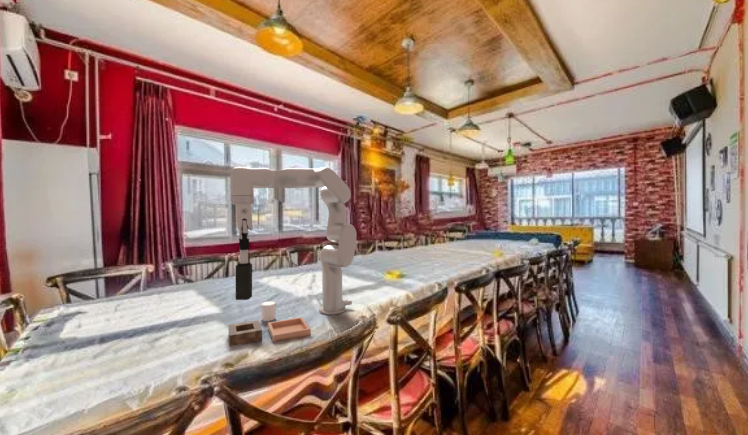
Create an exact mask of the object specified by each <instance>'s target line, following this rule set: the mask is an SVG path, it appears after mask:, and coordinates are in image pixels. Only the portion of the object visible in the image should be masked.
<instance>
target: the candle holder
mask: <svg viewBox="0 0 748 435" xmlns="http://www.w3.org/2000/svg"><path fill="white" fill-rule="evenodd" d="M261 341H262V342H263V329H262V326H261V324H260V320H259V319H258V320H252V321H246V322H239V323H238V322H237V323H233V324H228V342H229V347H235V345H236V346H240V345H247V344H251V343H257V342H261Z"/></svg>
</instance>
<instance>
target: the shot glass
mask: <svg viewBox="0 0 748 435" xmlns="http://www.w3.org/2000/svg"><path fill="white" fill-rule="evenodd" d="M276 311H277V301H274V300H267V301H263V302H261V303H260V313H261V320H262V321H264V322H270V321H273V320H275V319H276V314H277V312H276Z"/></svg>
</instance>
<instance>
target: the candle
mask: <svg viewBox="0 0 748 435" xmlns="http://www.w3.org/2000/svg"><path fill="white" fill-rule="evenodd" d="M252 297H253V263H251V262H250V261H249V250H240V249H239V262H237V263H236V265H235V301H247V300H250V299H251V298H252Z"/></svg>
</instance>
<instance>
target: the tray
mask: <svg viewBox="0 0 748 435" xmlns="http://www.w3.org/2000/svg"><path fill="white" fill-rule="evenodd" d="M267 330H268V333H269V335H270V338H271V340H272V343H277V342H282V341H287V340H293V339H297V338H303V337H307V336H311V333H312V332H311V327H310V326H309V324H308V323H307V322H306V321H305V319H304V318H303V317H301V316H300V317H296V318H295V317H294V318H289V319H282V320H277V321H271V322H270V321H269V322H267Z"/></svg>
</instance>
